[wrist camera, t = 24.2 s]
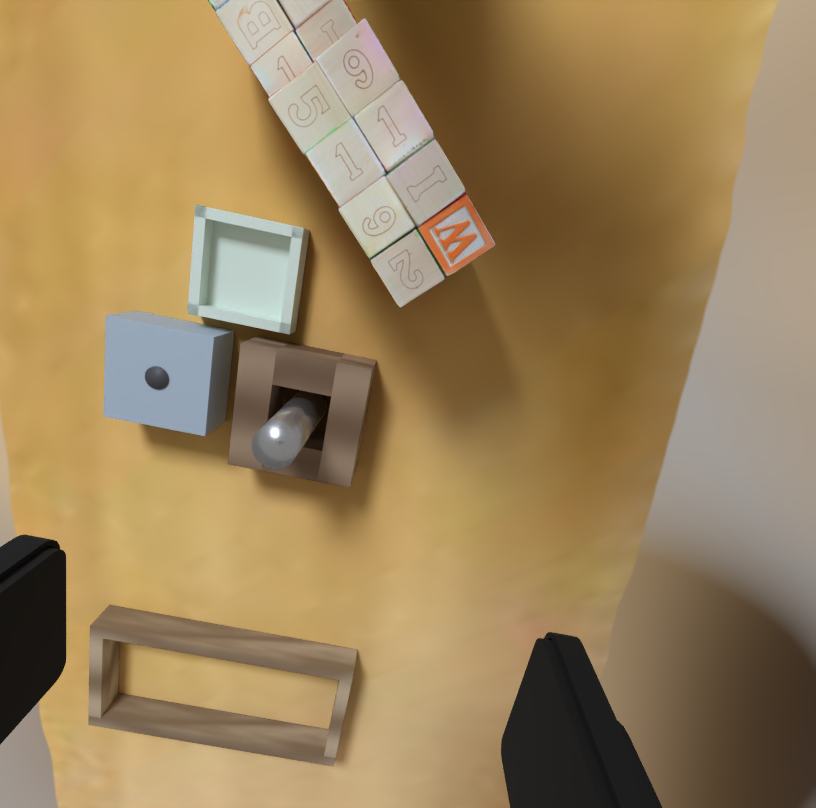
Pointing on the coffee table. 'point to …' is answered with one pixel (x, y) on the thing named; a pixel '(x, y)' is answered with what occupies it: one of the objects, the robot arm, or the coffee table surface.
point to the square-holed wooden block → (313, 372)
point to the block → (166, 372)
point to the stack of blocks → (361, 137)
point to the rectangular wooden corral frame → (209, 723)
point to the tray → (246, 270)
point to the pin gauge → (288, 430)
